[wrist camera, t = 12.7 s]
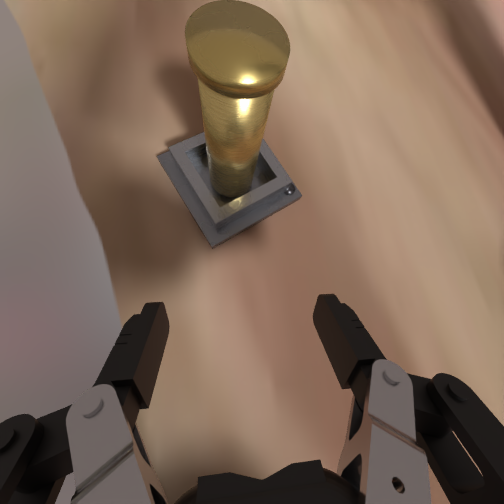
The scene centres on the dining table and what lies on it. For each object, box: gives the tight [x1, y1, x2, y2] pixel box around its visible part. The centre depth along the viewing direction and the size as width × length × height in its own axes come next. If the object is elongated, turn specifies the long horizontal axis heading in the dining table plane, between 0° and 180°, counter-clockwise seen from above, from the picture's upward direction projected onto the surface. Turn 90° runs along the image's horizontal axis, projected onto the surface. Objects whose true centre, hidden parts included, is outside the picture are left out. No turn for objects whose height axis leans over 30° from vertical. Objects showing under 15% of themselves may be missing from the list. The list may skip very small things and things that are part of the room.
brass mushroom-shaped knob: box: [185, 0, 290, 197], centre depth 14 cm, size 5×5×11 cm
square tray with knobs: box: [157, 132, 302, 249], centre depth 19 cm, size 10×10×3 cm
